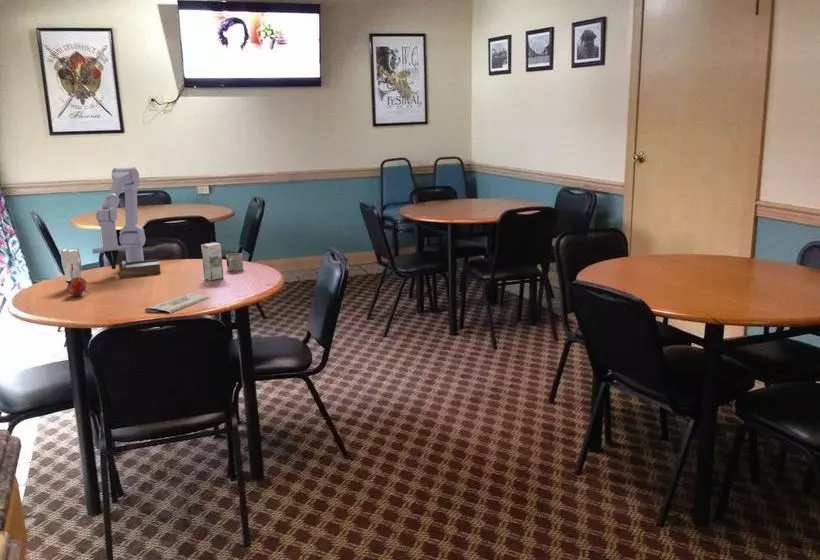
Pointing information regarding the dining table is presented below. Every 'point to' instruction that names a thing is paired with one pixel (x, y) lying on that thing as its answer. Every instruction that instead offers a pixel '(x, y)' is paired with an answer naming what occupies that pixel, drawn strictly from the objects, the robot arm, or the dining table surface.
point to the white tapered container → (71, 263)
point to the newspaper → (177, 303)
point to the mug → (234, 262)
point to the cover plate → (137, 264)
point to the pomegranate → (76, 286)
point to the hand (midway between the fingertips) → (113, 268)
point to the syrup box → (212, 261)
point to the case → (139, 269)
